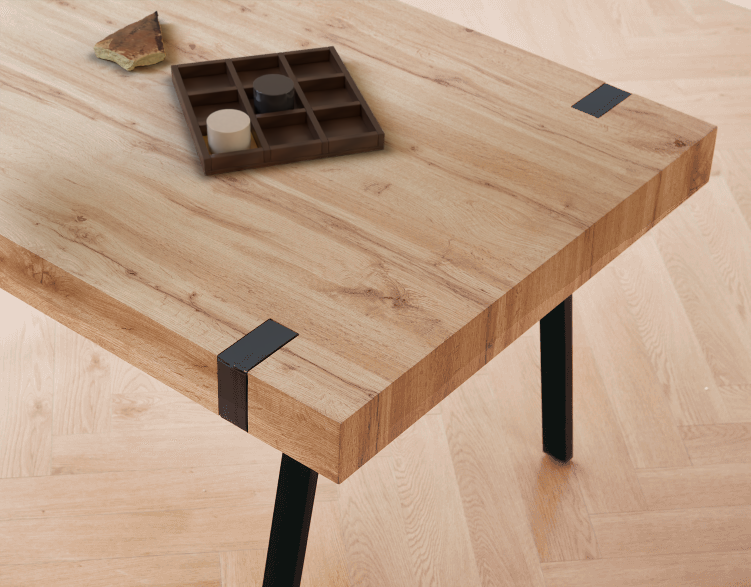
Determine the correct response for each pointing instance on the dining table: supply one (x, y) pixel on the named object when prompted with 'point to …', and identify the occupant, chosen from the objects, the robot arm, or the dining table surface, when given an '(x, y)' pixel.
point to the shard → (134, 44)
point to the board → (284, 128)
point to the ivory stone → (228, 131)
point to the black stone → (273, 94)
